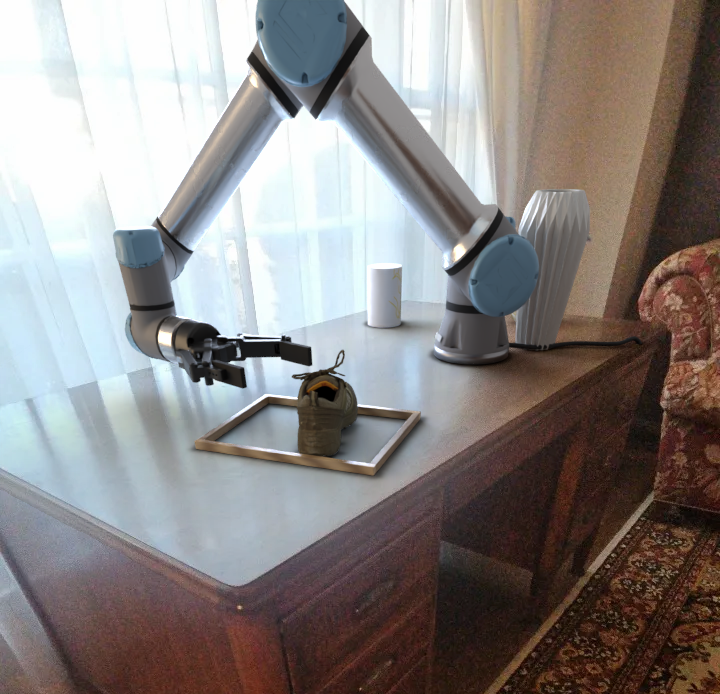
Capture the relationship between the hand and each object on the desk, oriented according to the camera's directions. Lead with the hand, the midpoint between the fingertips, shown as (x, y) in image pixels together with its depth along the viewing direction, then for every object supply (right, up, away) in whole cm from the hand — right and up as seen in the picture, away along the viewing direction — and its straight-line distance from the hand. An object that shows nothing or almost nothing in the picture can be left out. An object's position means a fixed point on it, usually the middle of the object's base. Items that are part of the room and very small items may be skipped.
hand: (278, 367), depth 86 cm
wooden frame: (+5, -9, +2) cm, 11 cm away
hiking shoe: (+7, -9, +2) cm, 12 cm away
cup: (+18, +37, +55) cm, 69 cm away
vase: (+50, +22, +37) cm, 66 cm away
